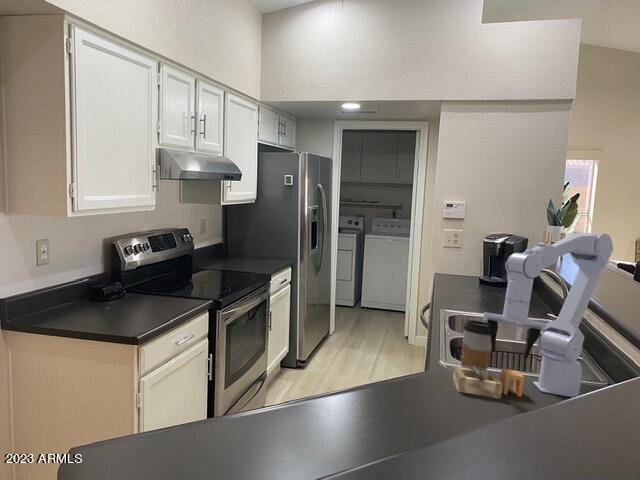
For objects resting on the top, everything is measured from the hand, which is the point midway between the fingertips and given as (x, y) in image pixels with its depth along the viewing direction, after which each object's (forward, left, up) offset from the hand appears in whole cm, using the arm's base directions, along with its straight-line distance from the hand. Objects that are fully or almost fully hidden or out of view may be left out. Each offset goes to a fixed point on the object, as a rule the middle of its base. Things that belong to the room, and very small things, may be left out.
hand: (508, 354), depth 119 cm
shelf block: (+7, +1, -10) cm, 12 cm away
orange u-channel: (-2, -2, -10) cm, 10 cm away
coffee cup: (+6, -10, -10) cm, 15 cm away
